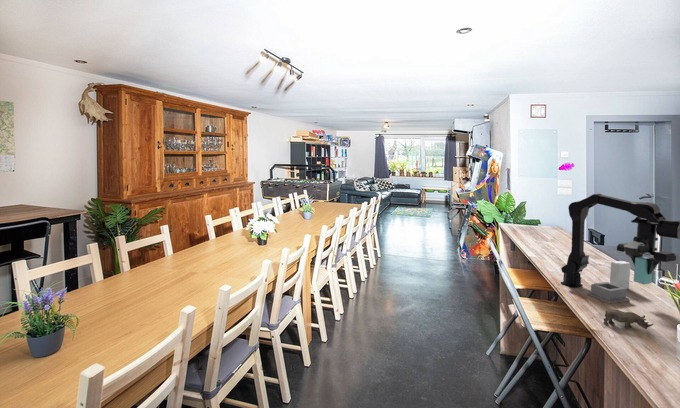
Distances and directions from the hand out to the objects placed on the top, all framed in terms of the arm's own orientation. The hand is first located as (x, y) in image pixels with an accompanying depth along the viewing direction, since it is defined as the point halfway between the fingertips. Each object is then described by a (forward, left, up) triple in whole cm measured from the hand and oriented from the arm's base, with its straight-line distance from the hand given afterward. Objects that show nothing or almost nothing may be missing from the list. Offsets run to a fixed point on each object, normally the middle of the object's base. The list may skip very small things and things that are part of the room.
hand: (643, 272), depth 145 cm
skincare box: (-15, +8, -13) cm, 22 cm away
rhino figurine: (+14, -26, -13) cm, 32 cm away
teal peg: (0, 0, -4) cm, 4 cm away
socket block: (-8, -7, -13) cm, 17 cm away
